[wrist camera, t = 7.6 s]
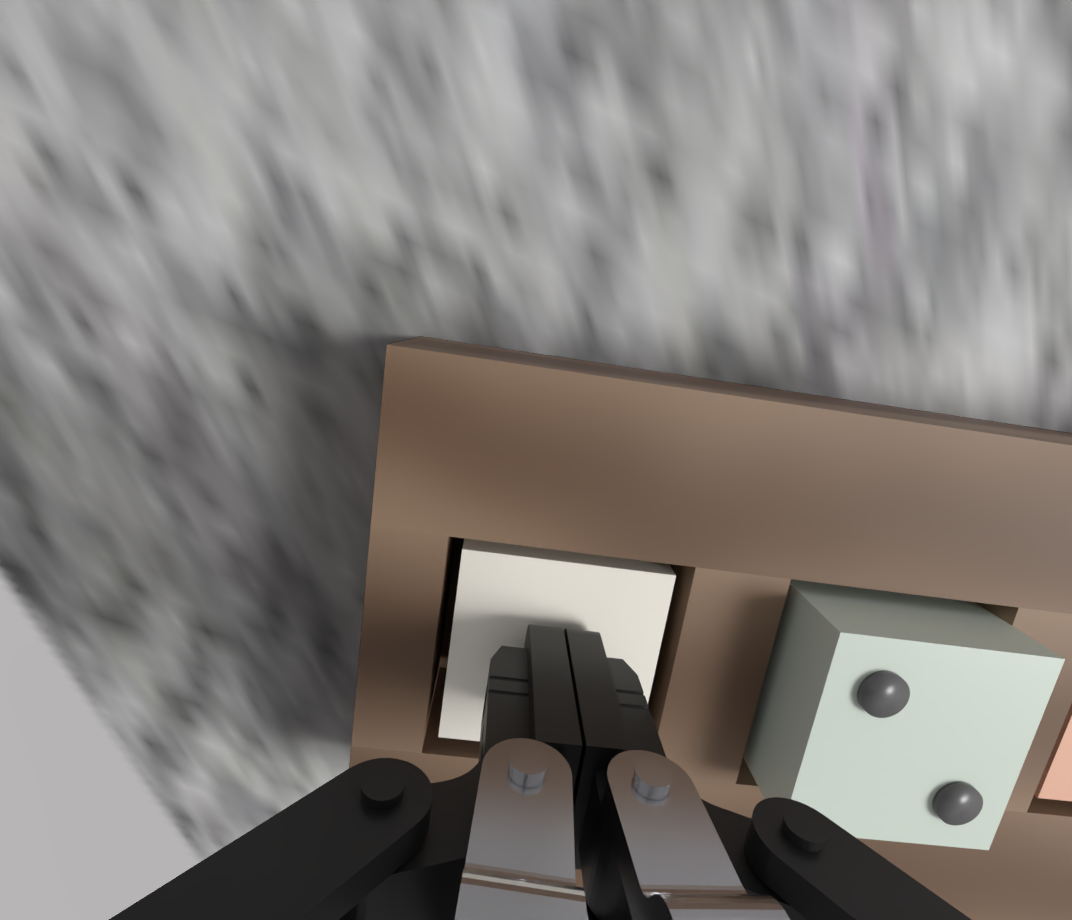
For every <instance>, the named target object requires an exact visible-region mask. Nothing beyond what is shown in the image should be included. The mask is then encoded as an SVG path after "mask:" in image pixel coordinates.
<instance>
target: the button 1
mask: <svg viewBox="0 0 1072 920" xmlns="http://www.w3.org/2000/svg"><path fill="white" fill-rule="evenodd" d="M675 579H676V574H675V573H674V571H673V570H672V568H671V566H670V565H669V564H665V563H657V562H649V561H641V560H633V559H625V558H617V557H609V556H601V555H593V554H585V553H577V552H569V551H561V550H553V549H545V548H537V547H529V546H521V545H513V544H505V543H497V542H489V541H481V540H473V539H465V538H464V543H463V548H462V555H461V562H460V570H459V578H458V586H457V594H456V602H455V609H454V617H453V625H452V633H451V641H450V649H449V656H448V664H447V672H446V680H445V688H444V695H443V703H442V711H441V719H440V727H439V735H438V737H441V738H451V739H461V740H471V741H480V732H481V721H482V714H483V707H484V701H485V694H486V687H487V680H488V673H489V666H490V660H491V658H492V657H493V655H494V654H495V653H496V652H497V651H498V649H499V648H500V647H501V646H510V647H519V648H524V644H525V637H526V632H527V627H528V625H529V624H532V625H541V626H549V627H558V628H563V630H564V629H565V628H568V629H576V630H585V631H594V632H599V633H600V635H601V638H602V642H603V646H604V649H605V653H606V656H607V657H609V658H618V659H623V660H624V661H625V662H626V663H627V664H628V665H629V666H630V667H631V668H632V669H633V671H634V672H635V673H636V674H637V675H638V677H639V680H640V683H641V686H642V689H643V692H644V693H643V695H645V697H646V700H647V703H648V701H649V697H650V692H651V688H652V683H653V679H654V674H655V670H656V665H657V661H658V656H659V651H660V647H661V642H662V638H663V633H664V629H665V624H666V620H667V615H668V611H669V606H670V602H671V597H672V592H673V588H674V583H675Z"/></svg>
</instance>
